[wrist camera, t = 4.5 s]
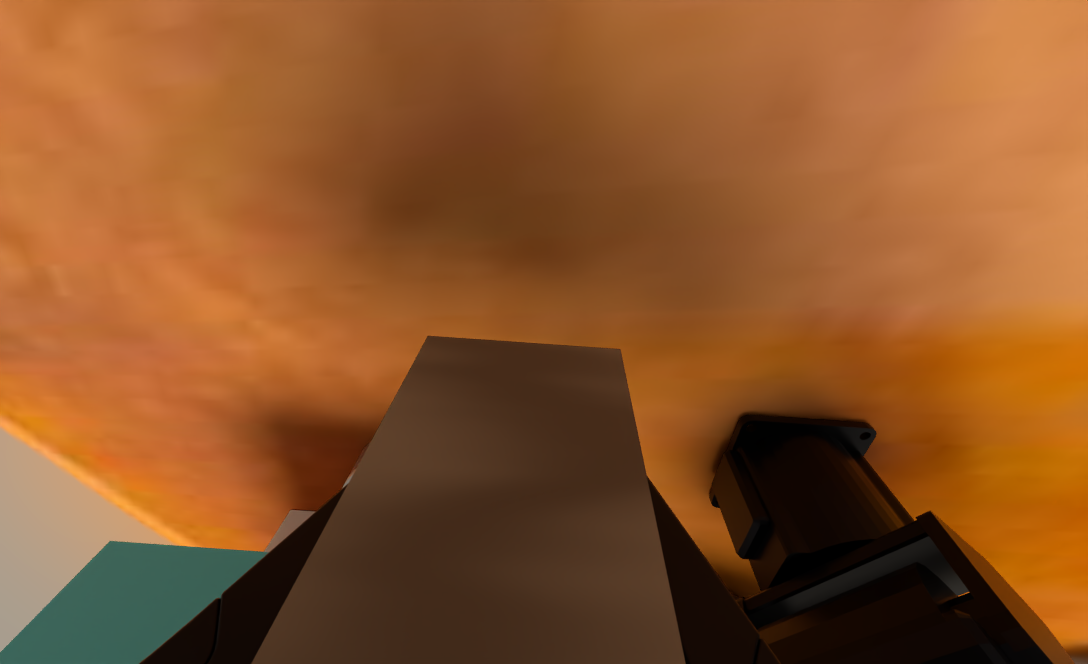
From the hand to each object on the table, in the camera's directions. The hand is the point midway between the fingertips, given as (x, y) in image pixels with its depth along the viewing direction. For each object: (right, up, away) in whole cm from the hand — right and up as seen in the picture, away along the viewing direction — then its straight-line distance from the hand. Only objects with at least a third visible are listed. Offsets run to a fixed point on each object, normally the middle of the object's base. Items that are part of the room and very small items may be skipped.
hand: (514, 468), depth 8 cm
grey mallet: (0, -5, +5) cm, 7 cm away
